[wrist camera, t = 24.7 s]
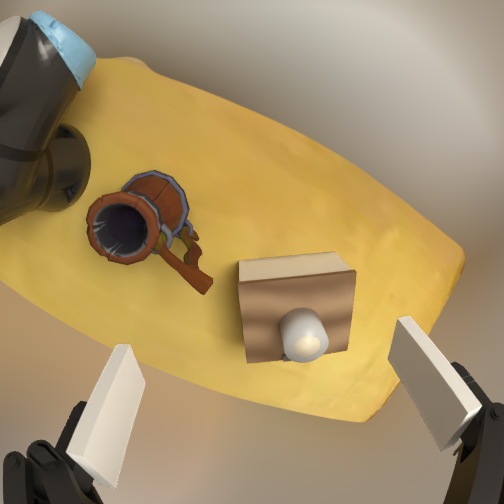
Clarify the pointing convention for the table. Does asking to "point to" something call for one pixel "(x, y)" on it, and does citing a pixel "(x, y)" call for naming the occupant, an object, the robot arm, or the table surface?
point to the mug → (146, 225)
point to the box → (290, 266)
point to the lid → (291, 297)
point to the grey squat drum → (303, 335)
